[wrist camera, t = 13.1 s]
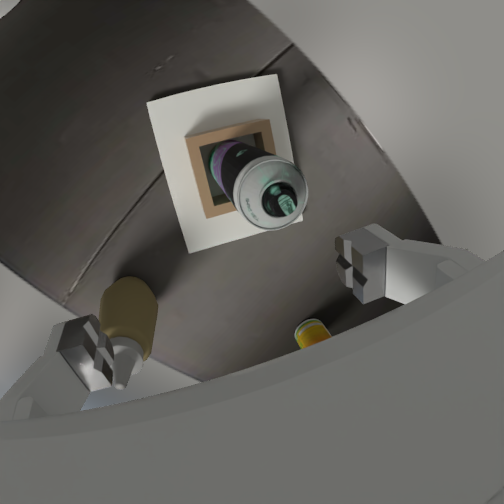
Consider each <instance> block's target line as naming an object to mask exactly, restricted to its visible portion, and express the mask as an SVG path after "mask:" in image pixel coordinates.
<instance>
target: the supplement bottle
mask: <svg viewBox="0 0 504 504" xmlns="http://www.w3.org/2000/svg"><path fill="white" fill-rule="evenodd" d="M331 337H332V336H331V335H330V333H329V332H328V330H327V329H326V328H325V326H324V325H323V324H322V322H321V321H320V320H318V319H308V320H305V321H304V322H302V323H301V324H300V325H299V326H298V327H297V329H296V331H295V339H296V341H297V342H298V344H299V346H300V347H301V349H303V348H306V347H308V346H311V345H314V344H316V343H319V342H321V341H324V340H326V339H329V338H331Z"/></svg>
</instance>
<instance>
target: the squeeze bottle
mask: <svg viewBox="0 0 504 504" xmlns="http://www.w3.org/2000/svg"><path fill="white" fill-rule="evenodd" d="M157 313H158V304H157V301H156V298H155V296H154V294H153V293H152V291H151V290H150V288H149V286H148V285H147V284H146V283H145V282H144V281H143V280H141V279H139V278H137V277H132V276H127V277H123V278H120V279H119V280H117V281H116V282H115V283H113V284H112V285H111V286H110V287H109V288H107V289H106V290H105V292H104V294H103V296H102V298H101V302H100V311H99V322H100V324H101V325H100V331H102V332H103V333H105V334H107V336H108V337H109V339H110V341H111V343H112V346H113V350H114V362H113V363H112V365H111V366H110V367H111V369H112V370H113V378H114V384H115V387H116V388H117V389H119V390H124V389H125V388H126V386H127V383H128V381H129V378H130V375H134V374H136V373H137V372H139V371H140V370H141V368H142V367H143V361H145V360H147V358H148V357H149V355H150V354H151V350H152V344H153V337H154V331H155V325H156V320H157Z"/></svg>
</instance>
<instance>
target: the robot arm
mask: <svg viewBox="0 0 504 504" xmlns="http://www.w3.org/2000/svg"><path fill="white" fill-rule="evenodd" d="M19 1H20V0H0V18H1V17H3V16H4V15H5V14H7V13H8V12H9V11H10V10H11V9H12V8H13V7H14V6H16V5H17V3H18V2H19ZM335 250H336V251H337V252H338V253H339V256H338V258H337V260H336V264H337V271H338V274H339V277H340V279H341V280H342V282H343V283H344V284H345V285H346V286H347V287H351V288H353V294H354V295H355V296H356V297H357V298H358V299H359V300H360V301H361V302H362V303H363V304H365V303H368V302H370V301H373V300H375V299H378V298H380V297H383V296H385V297H388V298H390V299H393V300H396V301H398V302H401V303H404V304H405V305H403V306H401V307H399V308H397V309H395V310H392V311H390V312H388V313H386V314H384V315H382V316H380V317H377V318H375V319H373V320H371V321H368V322H366V323H364V324H362V325H359V326H357V327H355V328H352V329H350V330H348V331H345V332H343V333H341V334H338V335H336V336H333V337H331V338H329V339H326V340H324V341H321V342H319V343H316V344H314V345H311V346H308V347H306V348H303V349H301V350H298V351H295V352H293V353H290V354H287V355H284V356H282V357H279V358H276V359H273V360H271V361H268V362H265V363H262V364H259V365H256V366H253V367H250V368H247V369H244V370H241V371H238V372H235V373H232V374H228V375H225V376H222V377H219V378H216V379H212V380H209V381H205V382H202V383H199V384H195V385H192V386H188V387H184V388H181V389H177V390H173V391H170V392H166V393H162V394H158V395H154V396H150V397H146V398H141V399H137V400H133V401H128V402H124V403H119V404H114V405H109V406H104V407H99V408H94V409H89V410H83V411H80V410H81V408H82V407H83V405H84V403H85V401H86V399H87V398H88V396H89V394H90V392H91V391H95V390H99V389H103V388H107V387H111V386H112V377H113V370H112V369H111V367H110V366H111V365H112V363H113V362H114V350H113V346H112V343H111V341H110V339H109V337H108V336H107V334H105V333H103V332H102V331H100V325H101V324H100V322H99V321H98V319H97V317H96V316H95V315H93V314H91V315H87V316H84V317H80V318H76V319H73V320H69V321H65V322H62V323H59V324H57V325H54V326H53V329H52V332H51V334H50V337H49V340H48V343H47V346H46V348H45V351H44V355H43V356H40V357H39V358H38V359H37V360H36V361H35V362H34V363H33V364H32V365H31V366H30V367H29V369H28V370H27V371H26V372H25V373H24V374H23V375H22V376H21V377H20V378H19V379H18V380H17V382H16V383H15V384H14V385H13V386H12V387H11V388H10V389H9V391H7V393H6V394H5V395H4V396H3V397H2V398H1V400H0V504H504V251H502V252H500V253H499V254H497V255H495V256H494V257H492V258H491V259H489V260H487V261H484V260H483V259H481V258H480V257H478V256H477V255H475V254H473V253H472V252H470V251H468V250H467V249H463V248H457V247H451V246H444V245H438V244H432V243H426V242H420V241H413V240H407V239H406V240H403V241H402V240H401V239H399V238H398V237H396V236H395V235H393V234H392V233H390V232H388V231H387V230H385V229H384V228H382V227H381V226H379V225H377V224H371V225H368V226H366V227H363V228H360V229H357V230H355V231H352V232H349V233H346V234H344V235H341V236H338V237H336V238H335Z"/></svg>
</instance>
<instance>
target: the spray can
mask: <svg viewBox="0 0 504 504" xmlns="http://www.w3.org/2000/svg"><path fill="white" fill-rule="evenodd" d="M208 168H209V171H210V173H211V175H212V176H213V177H214V179H215V180H216V182H217V183H218V184H219V186H220V187H221V189H222V190H223V191H224V193H225V194H226V195H227V197H228V198H229V200H230V201H231V202H232V204H233V205H234V207H235V208H236V209H237V211H238V212H239V214H240V215H241V216H242V217H243V218H244V219H245V220H246V221H247V222H248V223H250V224H252V225H253V226H255V227H257V228H259V229H263V230H279V229H282V228H285V227H287V226H289V225H290V224H292V223H293V222H294V221H296V220H297V219H298V217H299V216H300V215H301V214H302V212H303V210H304V209H305V206H306V203H307V199H308V185H307V181H306V179H305V177H304V175H303V173H302V172H301V170H299V169H298V168H297V167H296V166H295V165H294V164H293V163H292V162H290V161H288V160H287V159H284V158H282V157H279V156H277V155H274V154H272V153H269V152H266V151H264V150H261V149H259V148H256V147H253V146H251V145H248V144H245V143H242V142H240V141H236V140H225V141H222V142H220V143H218V144H217V145H215V146H214V147H213V148H212V150H211V151H210V153H209V156H208Z"/></svg>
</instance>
